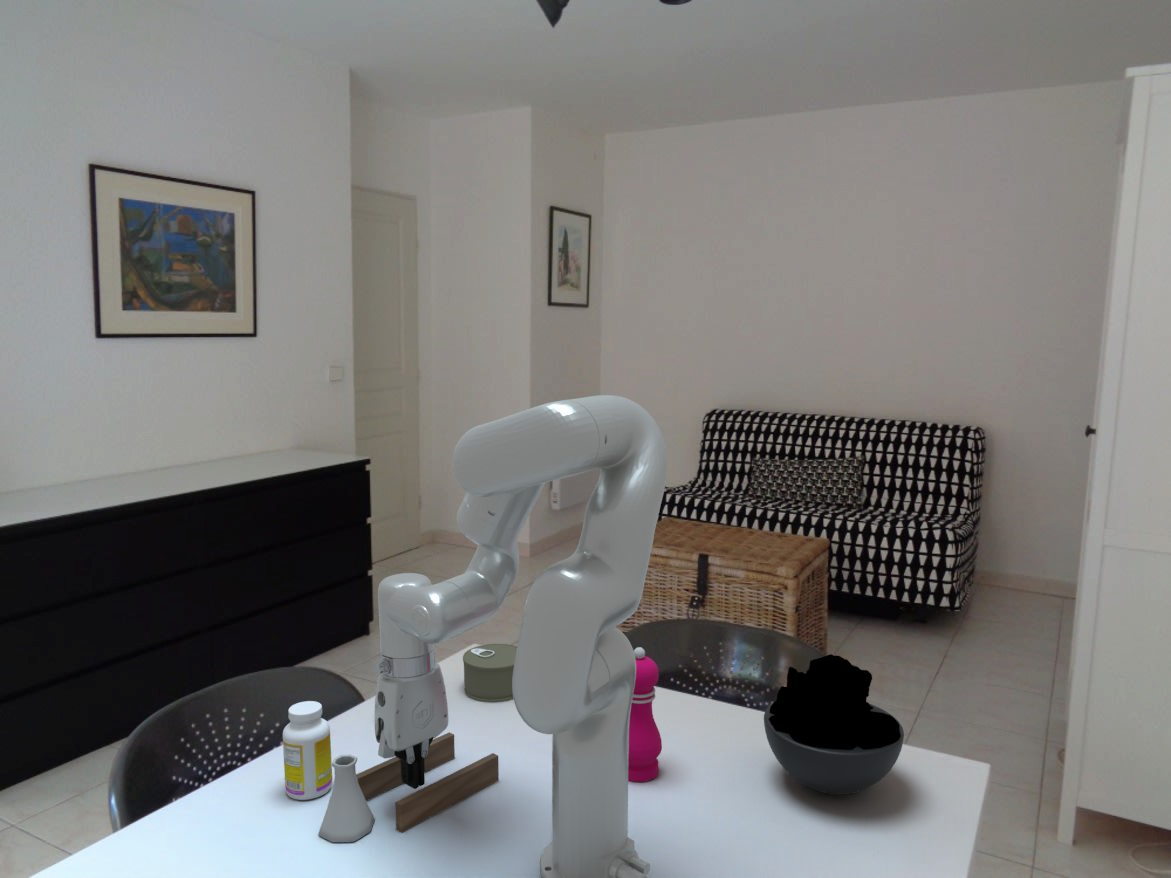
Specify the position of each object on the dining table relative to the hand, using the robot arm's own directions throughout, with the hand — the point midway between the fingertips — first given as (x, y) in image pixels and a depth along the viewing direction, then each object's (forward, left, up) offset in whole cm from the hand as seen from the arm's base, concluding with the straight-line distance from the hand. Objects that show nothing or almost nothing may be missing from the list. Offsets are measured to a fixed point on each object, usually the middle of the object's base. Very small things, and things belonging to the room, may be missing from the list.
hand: (413, 783), depth 123 cm
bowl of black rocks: (-43, -44, -3) cm, 62 cm away
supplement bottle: (+14, +8, -3) cm, 17 cm away
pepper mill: (-19, -28, -3) cm, 34 cm away
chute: (+1, -3, -3) cm, 4 cm away
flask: (+1, +10, -3) cm, 11 cm away
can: (+20, -34, -3) cm, 40 cm away
